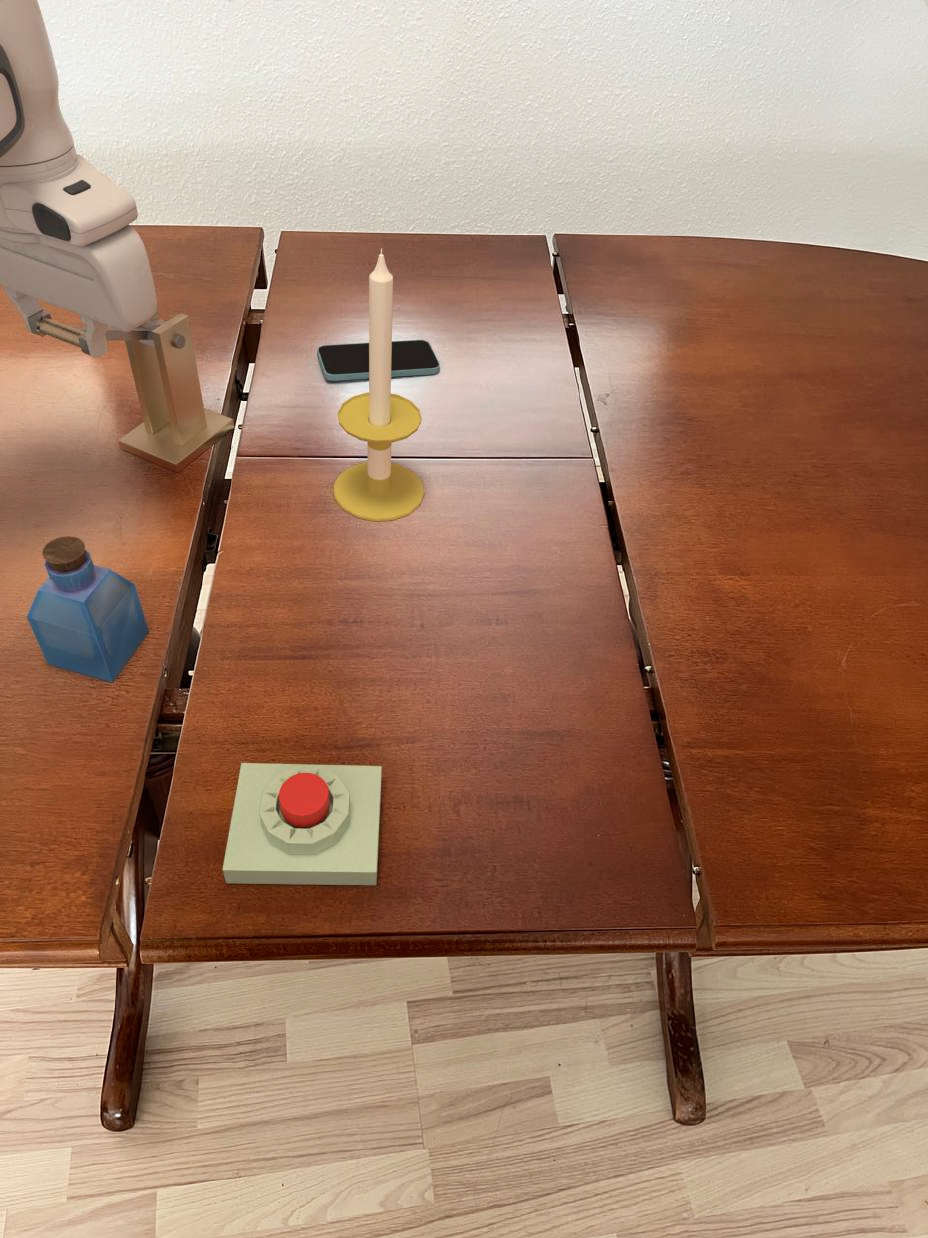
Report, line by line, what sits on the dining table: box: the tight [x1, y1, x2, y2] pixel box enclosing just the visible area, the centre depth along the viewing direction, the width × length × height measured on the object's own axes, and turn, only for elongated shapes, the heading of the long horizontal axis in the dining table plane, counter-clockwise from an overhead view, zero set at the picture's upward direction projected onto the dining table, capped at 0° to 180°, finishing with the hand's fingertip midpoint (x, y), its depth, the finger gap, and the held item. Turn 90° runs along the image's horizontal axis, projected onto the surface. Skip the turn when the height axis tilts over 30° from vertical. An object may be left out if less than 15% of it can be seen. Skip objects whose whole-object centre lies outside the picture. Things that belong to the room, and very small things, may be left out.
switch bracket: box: [117, 308, 235, 474], centre depth 92 cm, size 10×8×15 cm
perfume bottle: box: [26, 535, 150, 683], centre depth 72 cm, size 6×6×12 cm
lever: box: [39, 318, 168, 349], centre depth 83 cm, size 14×5×2 cm, turn 154°
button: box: [279, 773, 330, 827], centre depth 63 cm, size 4×4×2 cm
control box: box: [222, 762, 383, 886], centre depth 65 cm, size 11×9×4 cm
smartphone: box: [316, 339, 441, 382], centre depth 111 cm, size 7×1×15 cm
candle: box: [332, 247, 426, 522], centre depth 84 cm, size 10×10×27 cm
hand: (69, 342), depth 78 cm, fingers closed on lever, 5 cm apart
